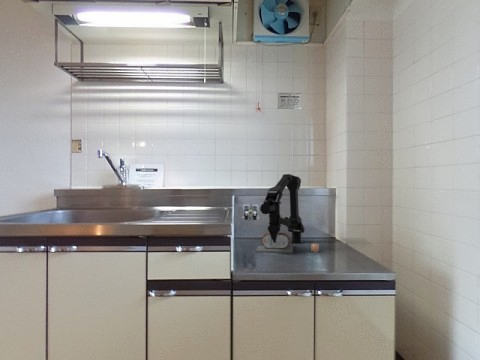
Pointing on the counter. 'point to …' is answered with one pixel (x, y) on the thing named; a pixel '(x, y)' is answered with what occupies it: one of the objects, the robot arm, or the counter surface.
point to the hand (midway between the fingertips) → (274, 241)
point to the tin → (281, 241)
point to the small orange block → (314, 247)
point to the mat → (274, 250)
